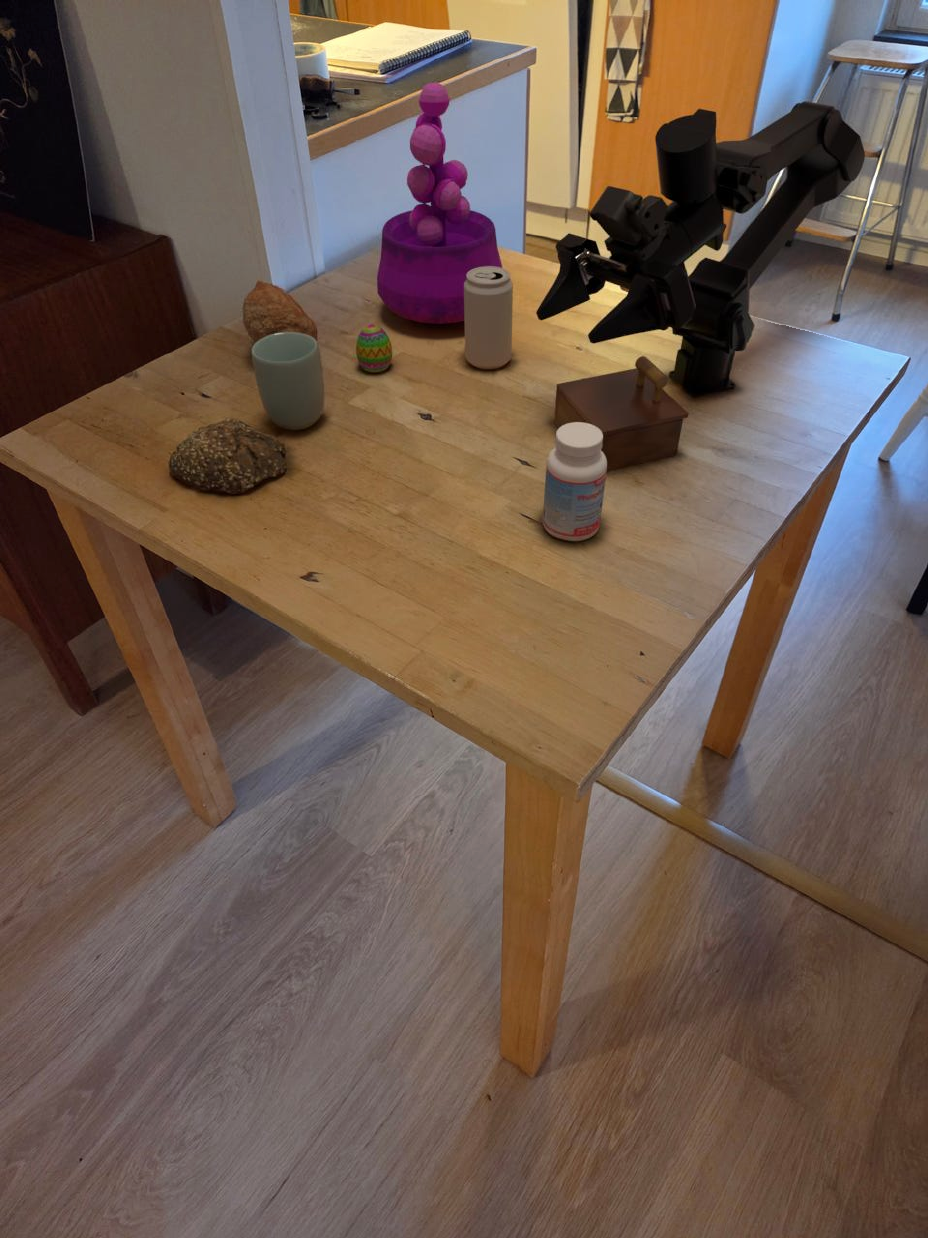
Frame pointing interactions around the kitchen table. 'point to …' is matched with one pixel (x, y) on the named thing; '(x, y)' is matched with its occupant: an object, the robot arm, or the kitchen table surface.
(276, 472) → the bread roll
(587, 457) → the pill bottle
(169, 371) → the kitchen table surface
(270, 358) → the cup
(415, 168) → the decorative plant
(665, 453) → the chest
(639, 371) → the lid
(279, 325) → the crusty roll
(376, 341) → the egg
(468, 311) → the beverage can
